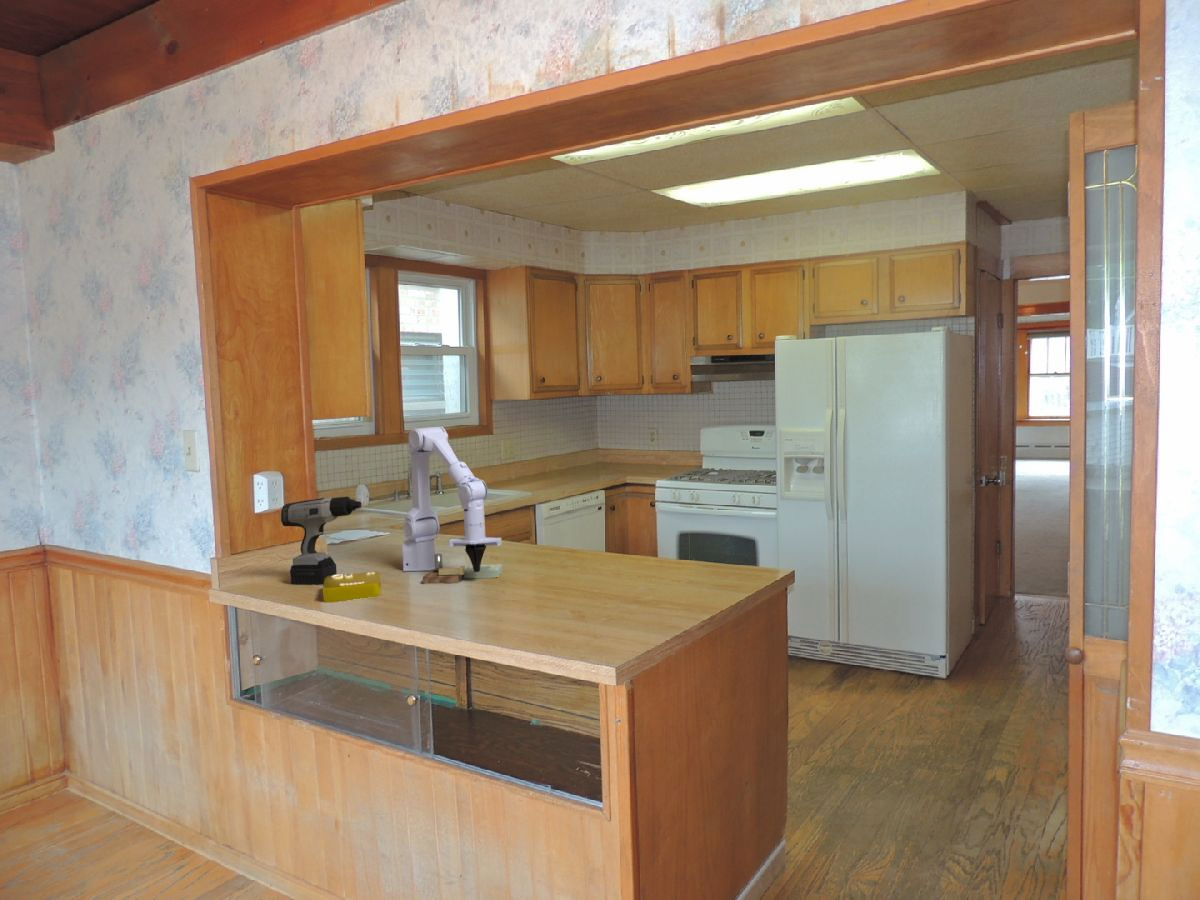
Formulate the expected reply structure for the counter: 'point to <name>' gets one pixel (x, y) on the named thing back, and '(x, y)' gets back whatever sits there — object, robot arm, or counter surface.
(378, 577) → the element tile
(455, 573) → the bar
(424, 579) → the socket block
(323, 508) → the cordless drill
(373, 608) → the counter surface
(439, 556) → the silver cylindrical rod
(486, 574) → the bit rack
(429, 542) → the robot arm
